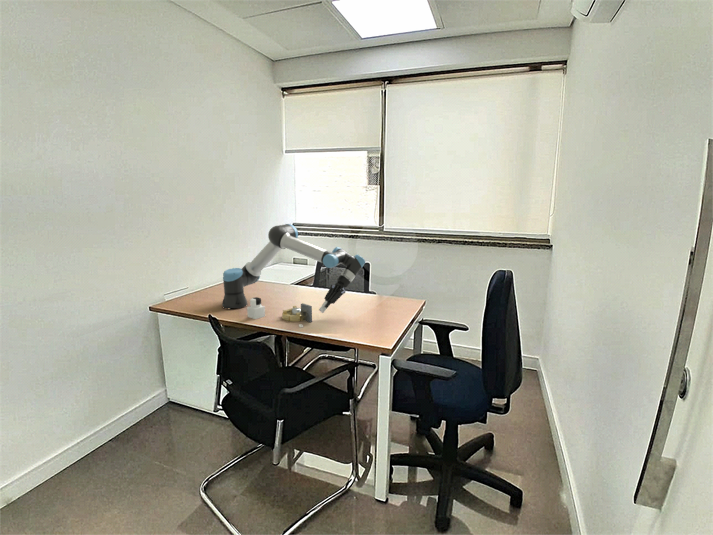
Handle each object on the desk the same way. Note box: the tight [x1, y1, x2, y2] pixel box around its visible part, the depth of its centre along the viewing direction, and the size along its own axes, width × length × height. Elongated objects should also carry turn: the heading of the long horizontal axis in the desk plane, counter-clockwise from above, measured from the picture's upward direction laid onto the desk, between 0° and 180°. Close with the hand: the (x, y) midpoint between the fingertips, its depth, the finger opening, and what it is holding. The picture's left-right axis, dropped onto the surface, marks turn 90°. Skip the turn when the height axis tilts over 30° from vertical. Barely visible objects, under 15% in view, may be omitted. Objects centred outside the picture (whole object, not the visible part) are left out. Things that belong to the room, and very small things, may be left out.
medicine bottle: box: [246, 296, 266, 320], centre depth 213 cm, size 7×7×12 cm
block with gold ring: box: [281, 302, 313, 323], centre depth 210 cm, size 20×15×9 cm
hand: (320, 311), depth 209 cm, fingers closed
